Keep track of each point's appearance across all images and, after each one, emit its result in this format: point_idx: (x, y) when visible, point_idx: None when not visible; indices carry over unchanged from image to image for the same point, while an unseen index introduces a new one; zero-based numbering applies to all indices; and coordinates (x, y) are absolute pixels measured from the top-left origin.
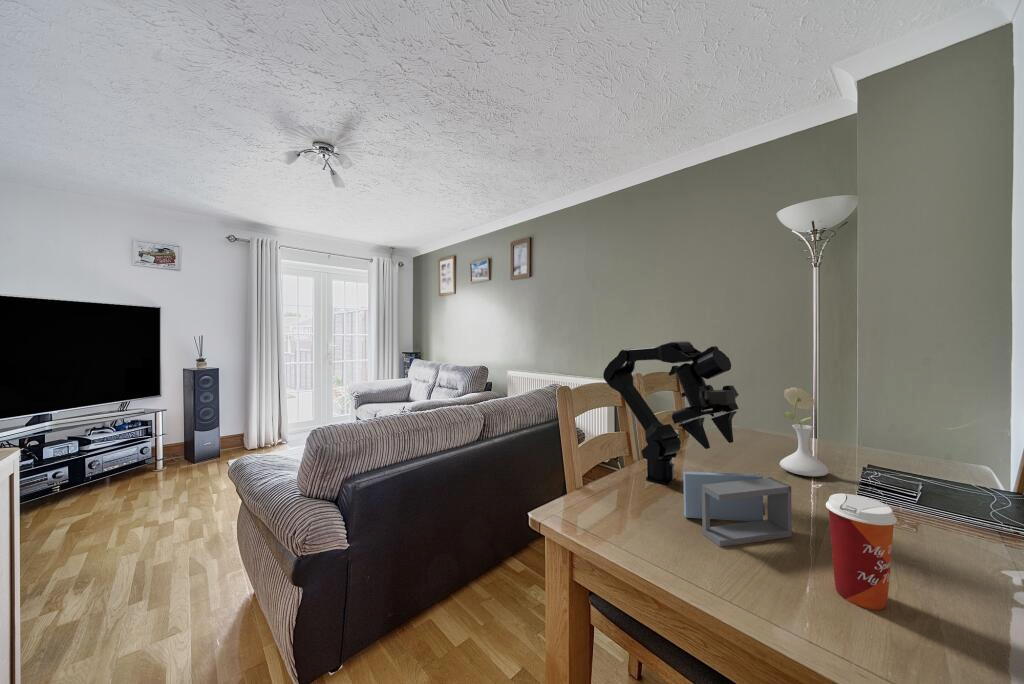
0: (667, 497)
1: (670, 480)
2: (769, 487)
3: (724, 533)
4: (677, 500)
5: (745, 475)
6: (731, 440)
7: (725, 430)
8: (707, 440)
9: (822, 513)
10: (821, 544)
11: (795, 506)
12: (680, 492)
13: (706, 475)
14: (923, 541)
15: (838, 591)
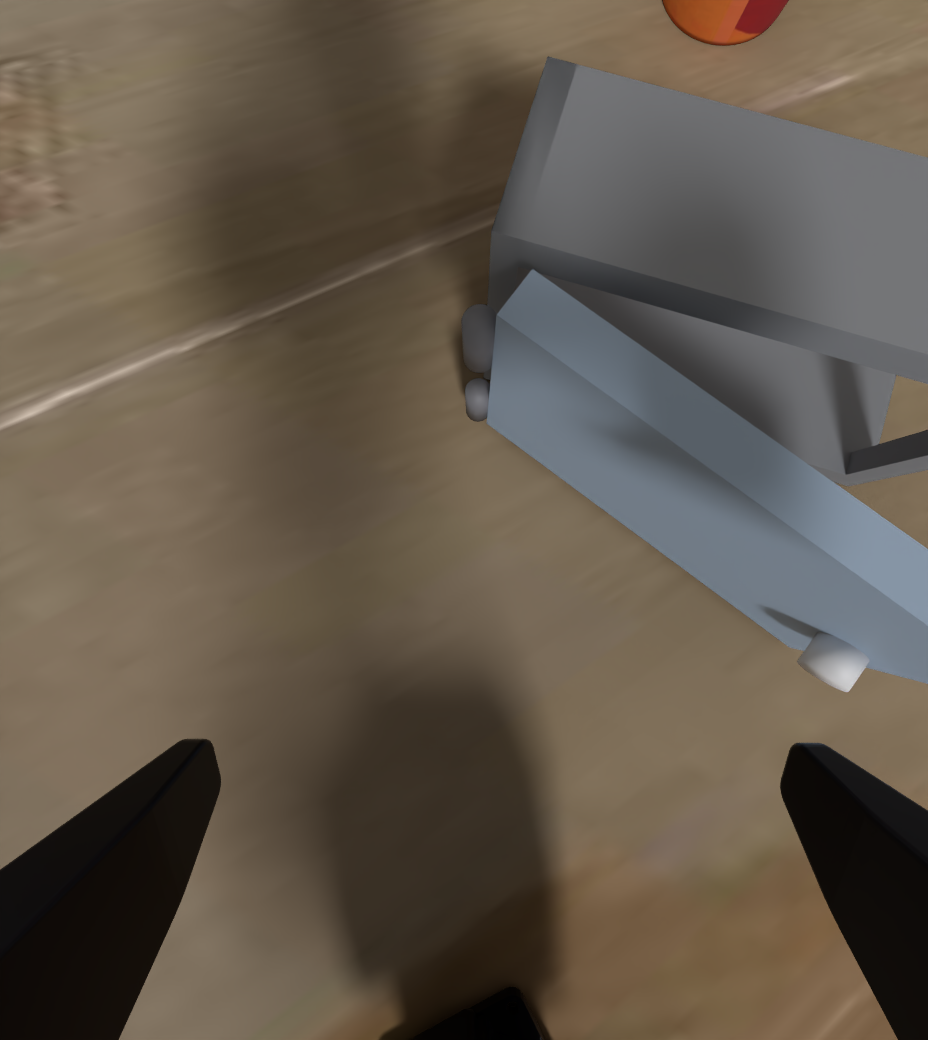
0: (674, 855)
1: (475, 1017)
2: (717, 121)
3: (817, 398)
4: (655, 794)
5: (629, 358)
6: (198, 762)
7: (62, 1009)
8: (912, 829)
9: (155, 315)
10: (475, 190)
11: (179, 417)
12: (545, 861)
13: (915, 547)
14: (106, 17)
15: (777, 15)
